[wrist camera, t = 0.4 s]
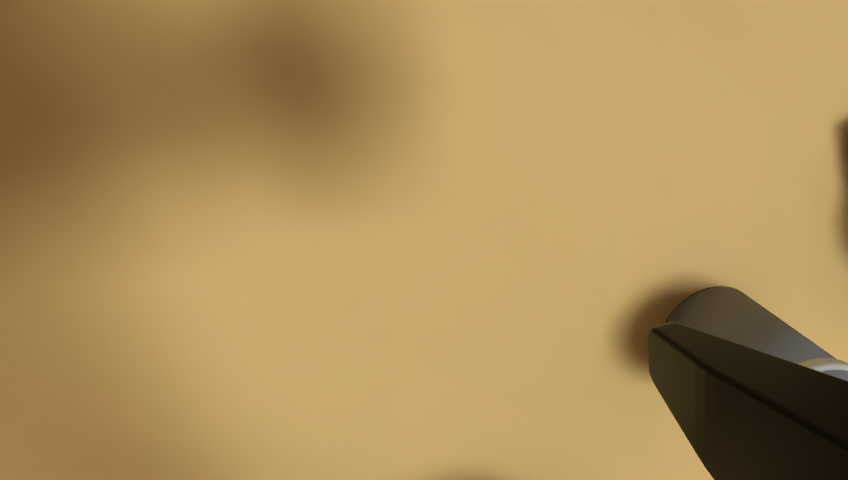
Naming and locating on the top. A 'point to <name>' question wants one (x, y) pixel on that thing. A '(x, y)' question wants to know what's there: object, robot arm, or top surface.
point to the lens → (753, 328)
